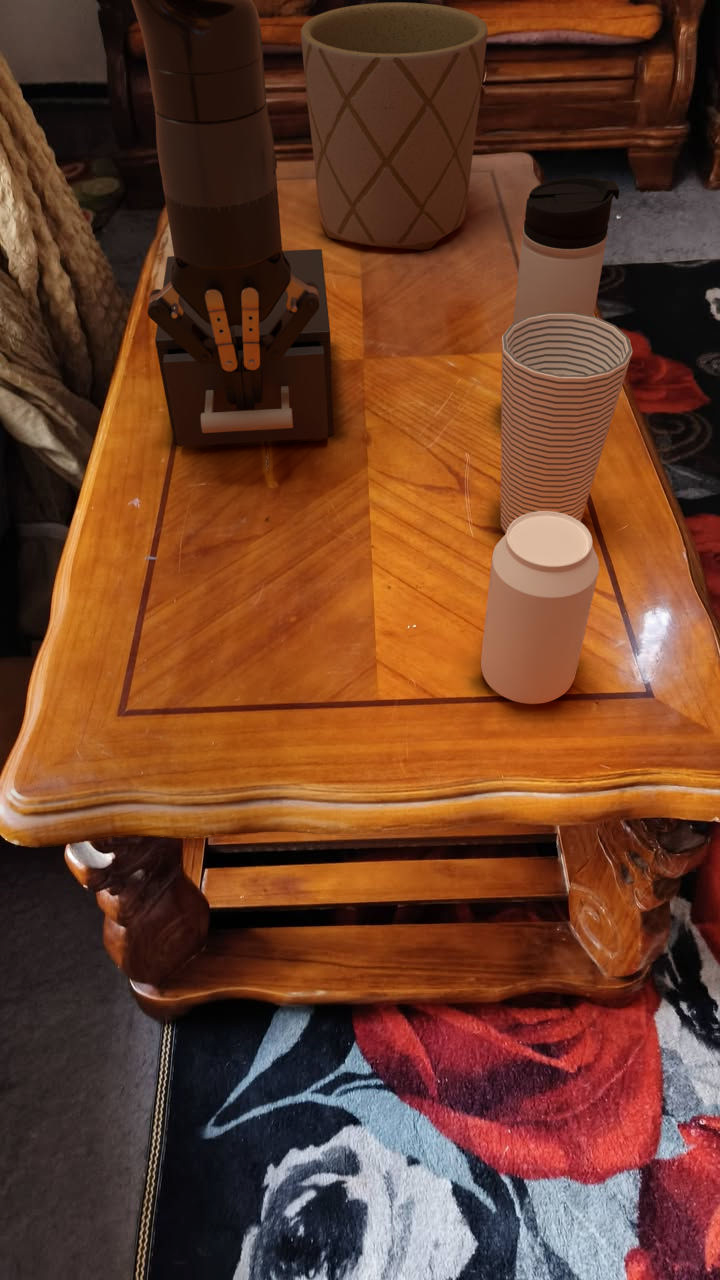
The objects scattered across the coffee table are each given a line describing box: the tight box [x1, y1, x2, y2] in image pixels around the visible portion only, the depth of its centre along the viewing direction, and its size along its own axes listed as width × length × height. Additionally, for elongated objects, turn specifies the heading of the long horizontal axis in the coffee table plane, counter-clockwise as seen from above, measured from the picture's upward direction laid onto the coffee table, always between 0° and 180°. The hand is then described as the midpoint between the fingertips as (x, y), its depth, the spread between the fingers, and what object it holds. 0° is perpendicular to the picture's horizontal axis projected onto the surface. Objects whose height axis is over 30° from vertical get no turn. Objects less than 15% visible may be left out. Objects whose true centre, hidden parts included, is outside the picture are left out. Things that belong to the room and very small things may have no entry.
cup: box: [500, 312, 634, 534], centre depth 68 cm, size 8×8×16 cm
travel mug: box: [512, 176, 620, 324], centre depth 76 cm, size 6×7×20 cm
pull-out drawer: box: [163, 342, 329, 447], centre depth 81 cm, size 18×13×8 cm
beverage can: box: [480, 511, 600, 705], centre depth 59 cm, size 6×6×12 cm
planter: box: [300, 1, 488, 251], centre depth 105 cm, size 19×19×20 cm
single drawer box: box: [154, 248, 335, 445], centre depth 84 cm, size 15×14×10 cm
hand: (246, 405), depth 76 cm, fingers closed
